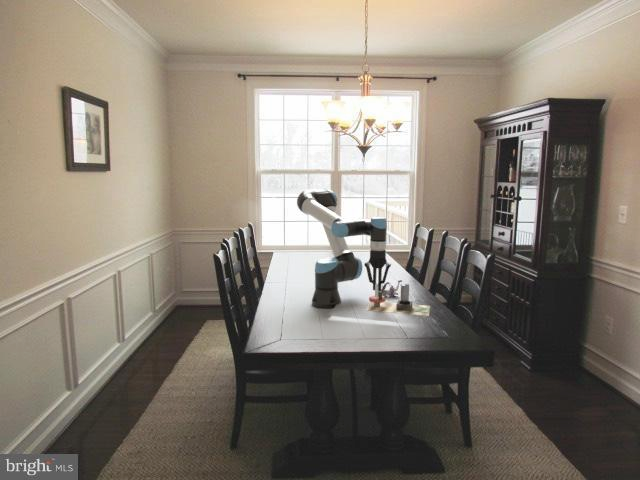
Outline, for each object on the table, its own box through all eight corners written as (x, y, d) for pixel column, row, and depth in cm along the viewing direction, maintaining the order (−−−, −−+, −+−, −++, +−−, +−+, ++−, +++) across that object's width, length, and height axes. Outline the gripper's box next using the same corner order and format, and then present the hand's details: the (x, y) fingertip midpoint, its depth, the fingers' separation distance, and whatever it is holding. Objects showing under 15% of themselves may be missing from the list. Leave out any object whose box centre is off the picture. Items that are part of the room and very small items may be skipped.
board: (365, 313, 220) (365, 304, 219) (370, 303, 235) (371, 295, 234) (428, 319, 211) (428, 309, 210) (430, 308, 226) (430, 300, 226)
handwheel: (373, 309, 220) (374, 293, 219) (366, 304, 228) (366, 289, 227) (388, 307, 223) (388, 291, 222) (380, 303, 231) (380, 287, 230)
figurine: (401, 304, 243) (376, 303, 238) (395, 297, 251) (370, 295, 246) (407, 285, 239) (382, 283, 234) (400, 278, 247) (375, 276, 242)
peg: (399, 309, 221) (400, 285, 219) (400, 306, 224) (401, 283, 222) (408, 310, 219) (408, 286, 217) (408, 307, 223) (409, 284, 221)
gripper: (363, 250, 216) (362, 297, 220) (390, 251, 212) (389, 300, 216) (366, 247, 223) (365, 293, 227) (392, 248, 219) (391, 295, 223)
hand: (376, 296), depth 222 cm, fingers closed
